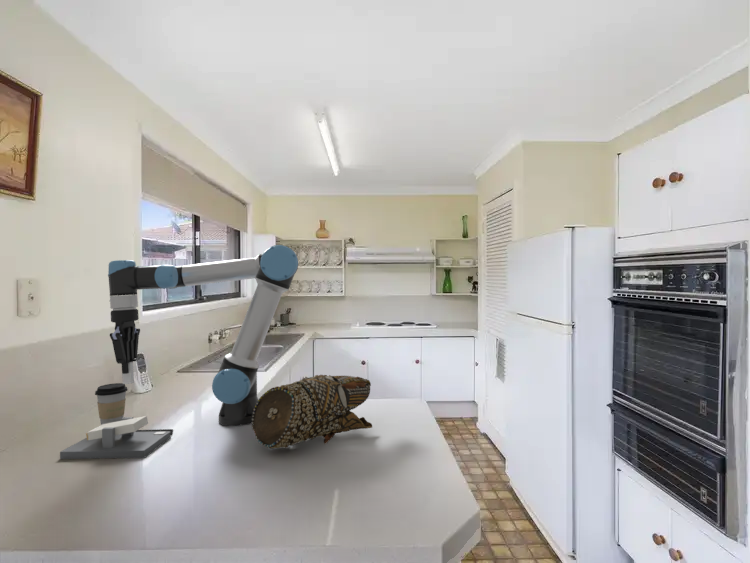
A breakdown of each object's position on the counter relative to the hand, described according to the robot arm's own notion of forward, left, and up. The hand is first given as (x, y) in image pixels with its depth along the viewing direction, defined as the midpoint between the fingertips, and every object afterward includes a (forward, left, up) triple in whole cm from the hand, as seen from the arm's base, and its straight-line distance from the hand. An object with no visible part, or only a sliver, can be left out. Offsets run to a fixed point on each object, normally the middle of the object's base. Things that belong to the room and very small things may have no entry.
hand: (128, 382), depth 129 cm
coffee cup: (+12, -10, -18) cm, 24 cm away
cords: (-3, -4, -18) cm, 19 cm away
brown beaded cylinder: (-60, +1, -18) cm, 63 cm away
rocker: (-1, +6, -13) cm, 15 cm away
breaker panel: (0, +6, -18) cm, 19 cm away
